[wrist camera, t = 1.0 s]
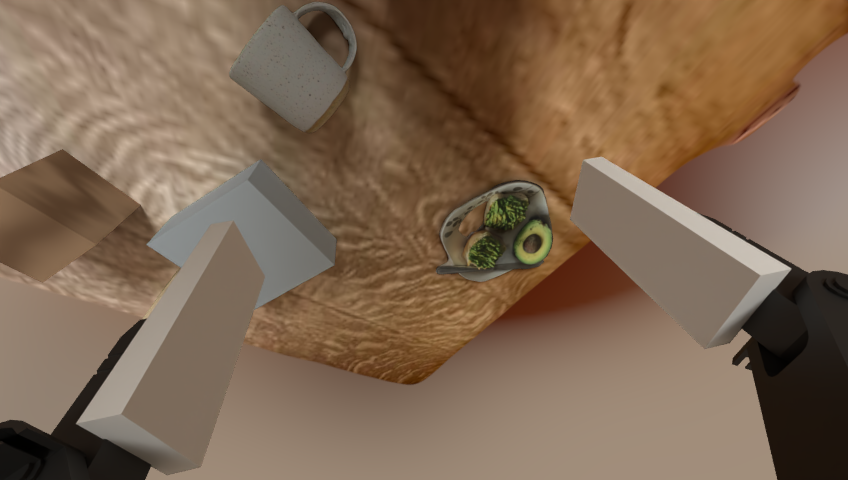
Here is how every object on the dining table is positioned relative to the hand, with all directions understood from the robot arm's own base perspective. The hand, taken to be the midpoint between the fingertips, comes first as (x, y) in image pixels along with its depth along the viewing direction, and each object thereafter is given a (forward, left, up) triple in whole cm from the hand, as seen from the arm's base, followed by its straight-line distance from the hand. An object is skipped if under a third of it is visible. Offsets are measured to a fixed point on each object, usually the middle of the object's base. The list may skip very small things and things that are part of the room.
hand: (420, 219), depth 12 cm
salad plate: (+27, +4, -28) cm, 39 cm away
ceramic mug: (-6, -5, -28) cm, 29 cm away
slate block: (+6, -23, -28) cm, 37 cm away
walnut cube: (-8, -35, -28) cm, 45 cm away
